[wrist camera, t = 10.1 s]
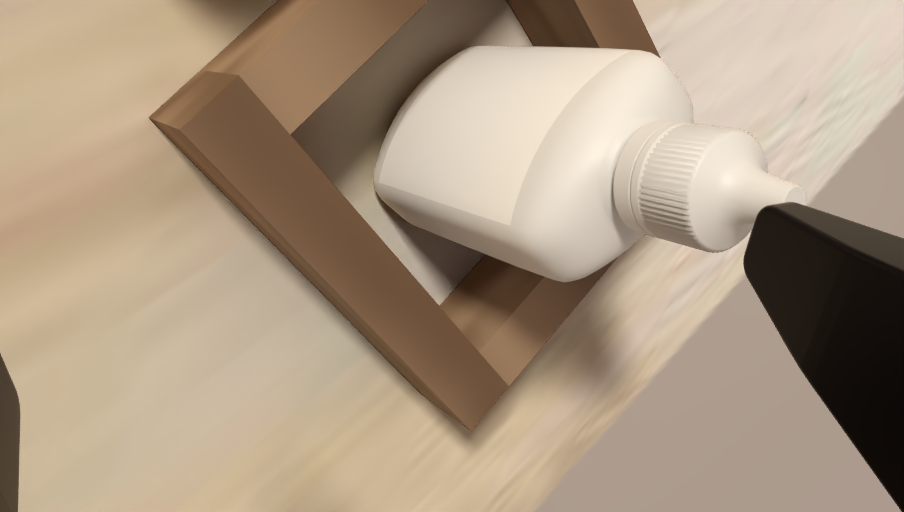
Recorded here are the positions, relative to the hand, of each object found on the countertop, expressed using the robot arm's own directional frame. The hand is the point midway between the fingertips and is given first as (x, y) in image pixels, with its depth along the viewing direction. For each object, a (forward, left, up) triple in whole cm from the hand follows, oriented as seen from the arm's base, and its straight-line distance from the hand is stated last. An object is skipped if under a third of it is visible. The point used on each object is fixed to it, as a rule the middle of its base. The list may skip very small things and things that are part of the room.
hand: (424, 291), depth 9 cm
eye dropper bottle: (+3, -7, -13) cm, 15 cm away
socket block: (+3, -7, -13) cm, 15 cm away
